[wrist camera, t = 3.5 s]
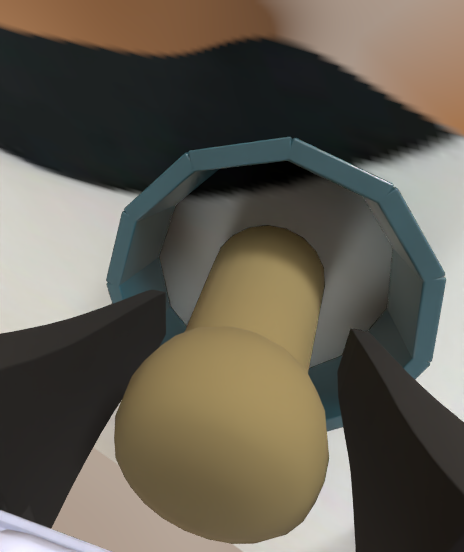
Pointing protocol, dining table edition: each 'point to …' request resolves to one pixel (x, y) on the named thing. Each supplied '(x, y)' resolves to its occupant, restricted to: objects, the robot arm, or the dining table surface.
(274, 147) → the teal hollow ring
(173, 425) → the tan game pawn
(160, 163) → the dining table surface
